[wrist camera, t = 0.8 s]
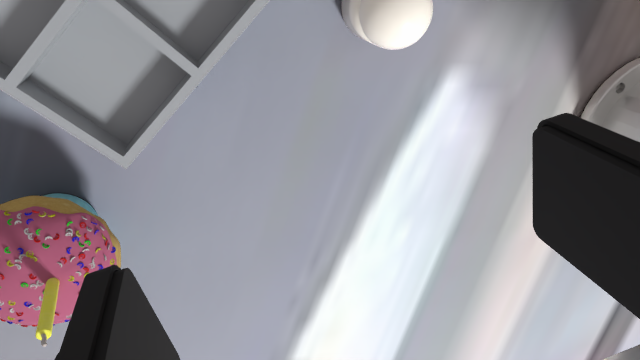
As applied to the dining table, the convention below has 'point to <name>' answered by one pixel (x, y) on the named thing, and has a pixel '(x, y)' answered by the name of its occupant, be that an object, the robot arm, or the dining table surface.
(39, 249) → the cupcake
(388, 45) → the cream egg
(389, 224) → the dining table surface
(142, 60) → the egg tray
